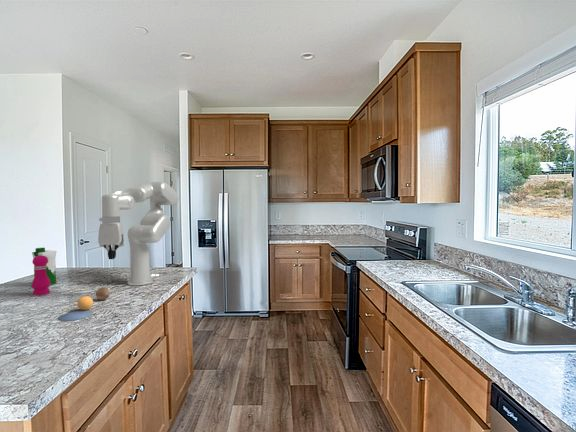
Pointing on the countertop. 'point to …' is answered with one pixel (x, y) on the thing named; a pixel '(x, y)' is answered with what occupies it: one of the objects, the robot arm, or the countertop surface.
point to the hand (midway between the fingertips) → (112, 258)
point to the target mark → (74, 315)
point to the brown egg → (102, 293)
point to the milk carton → (50, 265)
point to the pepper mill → (40, 275)
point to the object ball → (85, 303)
